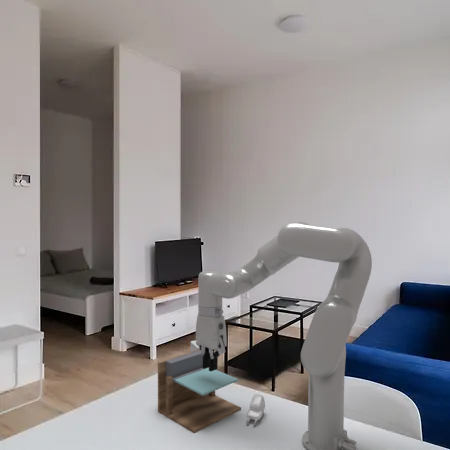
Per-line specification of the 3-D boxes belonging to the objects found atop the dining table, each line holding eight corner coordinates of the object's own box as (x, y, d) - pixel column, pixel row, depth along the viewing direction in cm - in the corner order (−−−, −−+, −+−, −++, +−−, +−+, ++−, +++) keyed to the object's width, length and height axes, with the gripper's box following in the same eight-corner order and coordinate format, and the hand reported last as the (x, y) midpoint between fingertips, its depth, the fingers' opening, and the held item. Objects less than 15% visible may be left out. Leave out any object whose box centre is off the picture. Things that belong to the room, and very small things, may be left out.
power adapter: (258, 433, 120) (256, 421, 118) (245, 430, 122) (242, 418, 120) (267, 406, 128) (265, 394, 126) (254, 403, 130) (252, 392, 128)
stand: (240, 409, 131) (241, 361, 130) (194, 433, 117) (194, 378, 116) (204, 392, 143) (204, 348, 143) (157, 411, 129) (157, 362, 129)
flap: (239, 382, 128) (239, 363, 128) (201, 398, 117) (201, 378, 117) (201, 366, 141) (201, 349, 141) (163, 379, 130) (163, 361, 130)
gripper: (237, 313, 123) (236, 372, 123) (202, 304, 134) (202, 359, 134) (219, 317, 117) (219, 379, 118) (184, 308, 129) (184, 365, 129)
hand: (210, 368), depth 126 cm, fingers closed
